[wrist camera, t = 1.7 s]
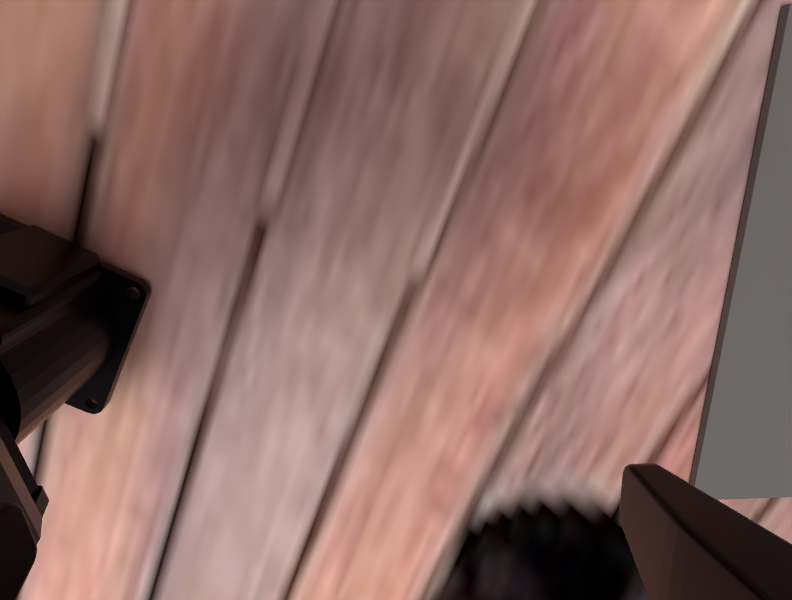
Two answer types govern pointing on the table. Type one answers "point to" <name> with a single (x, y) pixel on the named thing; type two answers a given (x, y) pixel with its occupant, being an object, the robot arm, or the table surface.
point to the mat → (756, 318)
